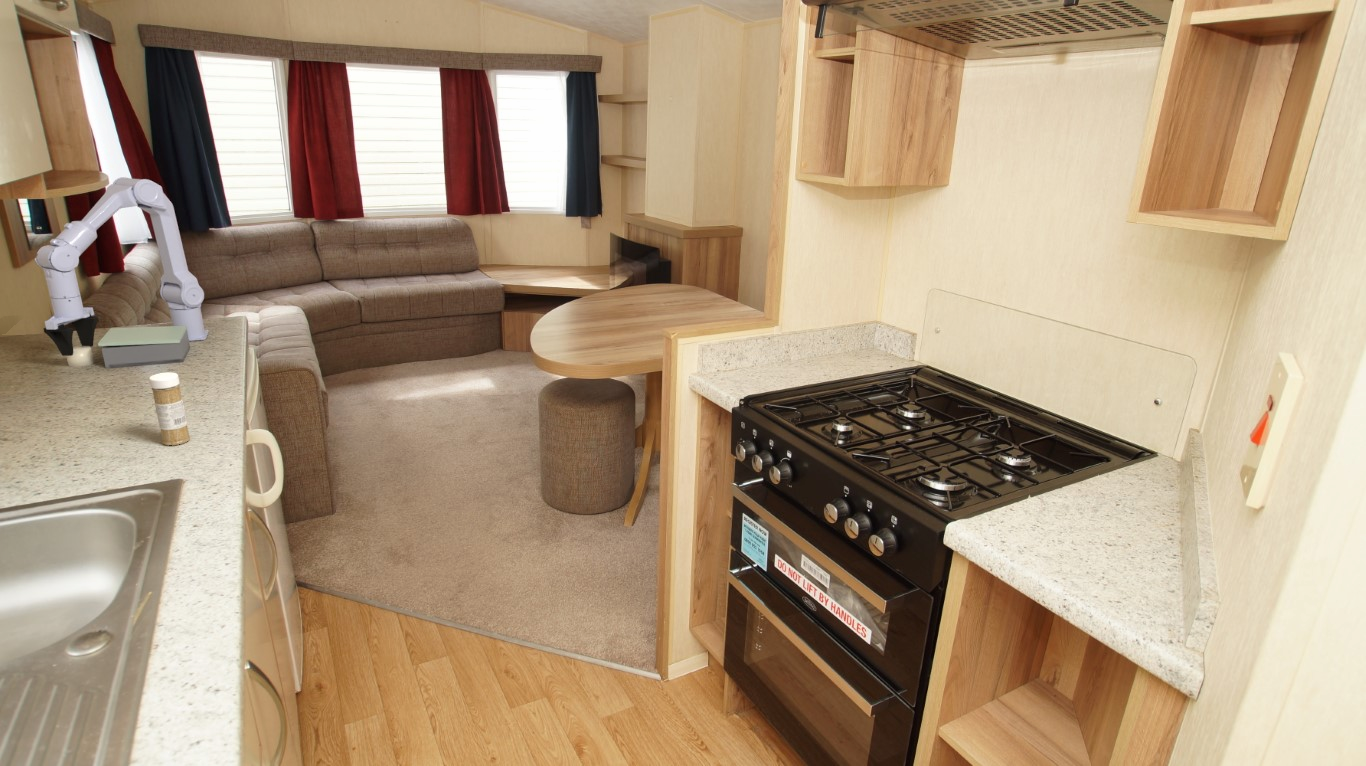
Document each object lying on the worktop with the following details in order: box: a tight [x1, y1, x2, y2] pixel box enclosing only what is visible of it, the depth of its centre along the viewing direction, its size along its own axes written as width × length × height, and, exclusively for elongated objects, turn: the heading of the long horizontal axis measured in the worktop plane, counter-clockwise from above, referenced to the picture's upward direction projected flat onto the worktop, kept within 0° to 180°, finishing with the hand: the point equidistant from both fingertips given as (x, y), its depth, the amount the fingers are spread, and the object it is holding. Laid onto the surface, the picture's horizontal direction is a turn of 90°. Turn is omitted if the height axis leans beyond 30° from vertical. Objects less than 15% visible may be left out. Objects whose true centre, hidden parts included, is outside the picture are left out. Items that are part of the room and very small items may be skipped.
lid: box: [97, 325, 187, 347], centre depth 190 cm, size 15×16×1 cm
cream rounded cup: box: [65, 345, 95, 368], centre depth 185 cm, size 5×5×4 cm
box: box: [101, 330, 191, 369], centre depth 191 cm, size 14×16×5 cm
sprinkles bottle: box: [148, 371, 191, 446], centre depth 142 cm, size 5×5×14 cm
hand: (78, 350), depth 184 cm, fingers open, 7 cm apart
